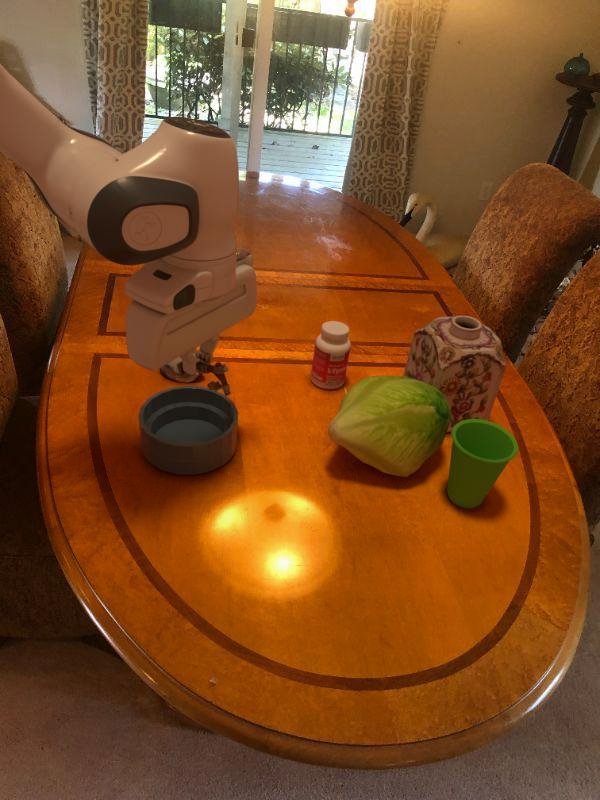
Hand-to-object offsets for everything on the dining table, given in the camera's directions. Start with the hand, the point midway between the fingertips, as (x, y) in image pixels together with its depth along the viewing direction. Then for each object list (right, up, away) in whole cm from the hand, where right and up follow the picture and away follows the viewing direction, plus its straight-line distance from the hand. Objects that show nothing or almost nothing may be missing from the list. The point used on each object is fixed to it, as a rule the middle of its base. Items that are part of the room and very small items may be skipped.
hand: (197, 367), depth 80 cm
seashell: (-9, +2, +30) cm, 32 cm away
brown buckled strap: (+1, -2, +1) cm, 3 cm away
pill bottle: (+18, -1, +31) cm, 36 cm away
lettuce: (+26, -13, +16) cm, 33 cm away
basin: (-4, -11, +13) cm, 18 cm away
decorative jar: (+37, -7, +27) cm, 47 cm away
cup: (+37, -18, +11) cm, 43 cm away
